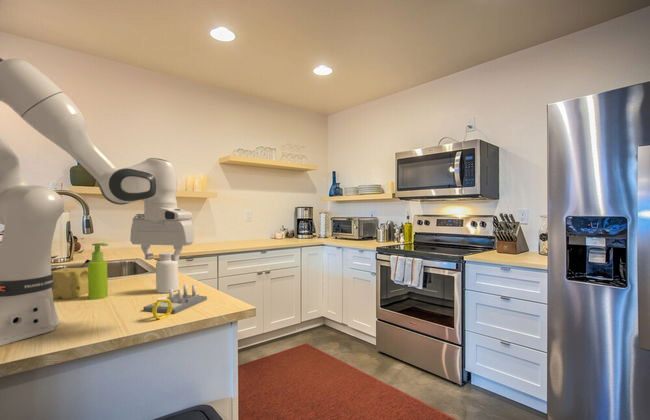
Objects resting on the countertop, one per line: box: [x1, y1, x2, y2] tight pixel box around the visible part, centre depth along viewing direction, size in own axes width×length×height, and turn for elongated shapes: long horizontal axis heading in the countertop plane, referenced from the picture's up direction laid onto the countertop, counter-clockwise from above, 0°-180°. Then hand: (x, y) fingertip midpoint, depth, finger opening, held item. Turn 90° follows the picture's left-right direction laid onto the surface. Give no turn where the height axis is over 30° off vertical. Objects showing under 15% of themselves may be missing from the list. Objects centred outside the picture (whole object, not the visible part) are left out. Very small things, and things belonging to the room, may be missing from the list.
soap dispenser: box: [87, 242, 109, 300], centre depth 123 cm, size 6×7×20 cm
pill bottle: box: [155, 251, 179, 294], centre depth 132 cm, size 8×8×15 cm
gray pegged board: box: [143, 284, 208, 315], centre depth 113 cm, size 16×12×5 cm
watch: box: [151, 296, 172, 320], centre depth 100 cm, size 6×3×6 cm, turn 157°
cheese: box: [51, 267, 88, 300], centre depth 126 cm, size 10×11×10 cm
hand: (161, 260), depth 100 cm, fingers open, 8 cm apart
